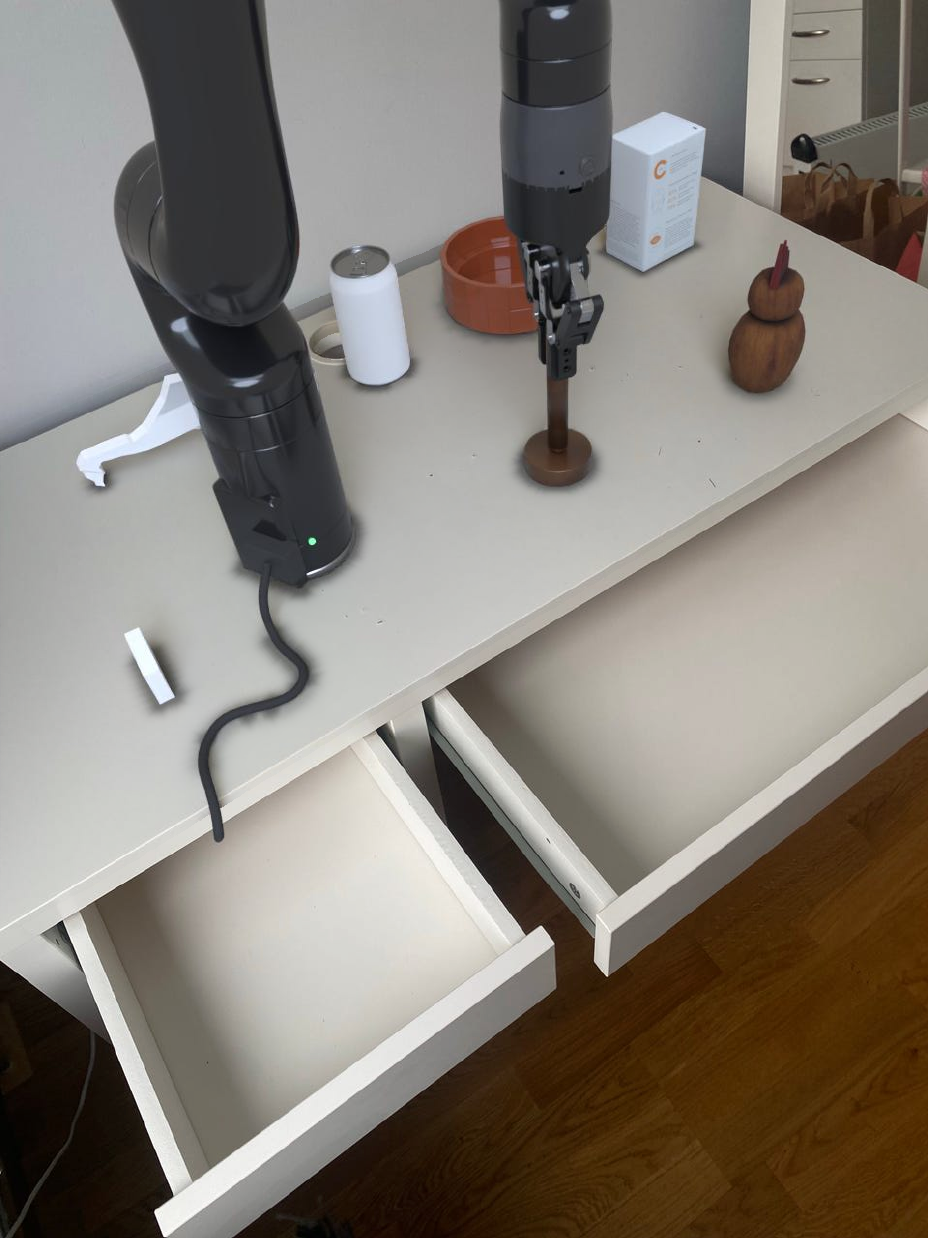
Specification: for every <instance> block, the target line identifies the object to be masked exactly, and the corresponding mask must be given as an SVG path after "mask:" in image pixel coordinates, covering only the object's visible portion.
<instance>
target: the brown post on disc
mask: <svg viewBox="0 0 928 1238" xmlns="http://www.w3.org/2000/svg"><path fill="white" fill-rule="evenodd" d="M560 320H561V317H560V318H559V319H558V326H559V323H560ZM545 367H546V368H545V369H546V370H545V371H546V416H547V417H546V418H547V420H546V422H547V423H546V424H547V427H546V429H543V430H541V431H538V432H536V433H535V434H533V435H532V436H531V437H530V438H528V440H527V442H526V444H525V446H524V448H523V451H524V452H523V454H524V455H523V456H524V469H525V471H526V473H527V475H528V476H529V477H530V478H531V479H532V480H533V481H535V482H536V483H538V484H540V485H544V486H548V487H556V488H557V487H566V486H572V485H574V484H577V483H578V482H580V481H582V480H583V479H584V478H586V477H587V475H588V474H589V472H590V471H591V469H592V462H593V461H592V460H593V459H592V457H593V447H592V443H591V442H590V440H589V438H587V437H586V435H584V434H583V433H581V432H580V431H578V430H575V429H572V428H569V378H567V379H563V380H559V381H553V380H552V379H551V378H550V376H549V374H548V339H547V321H546V365H545Z"/></svg>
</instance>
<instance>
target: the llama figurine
mask: <svg viewBox="0 0 928 1238" xmlns="http://www.w3.org/2000/svg"><path fill="white" fill-rule="evenodd" d="M192 430H201V427H200V424H199V421H198V419H197V416H196V413H195V411H194V408H193V405H192V403H191V400H190V398H189V395H188V393H187V390H186V387H185V385H184V383H183V381H182V379H181V377H180V375H179V374H178V372H175V373H171V374H167V375H164V377H163V381H162V386H161V389H160V393H159V396H158V397H157V399H156V400H155V402H154V404H153V406H152V407H151V409H150V411H149V413H148V414H147V415H146V417H145V419H144V421H143V423H142V424H140V425H139V426H138V427H136V428H135V429H133V430H132V431H131V432H130V433H123V434H120V435H117V436H115V437H113V438H109V439H108V440H105V441H102V442H100V443H98V444H95V445H93V446H90V447H88V448H85V449H83V450H81V451H80V453H79V454H78V457H77V459H76V462H75V464H76V466H77V468H78V469H79V472H80V473H81V472H82V473H83V474H84V477H86V479H88V480H90V481H92V482H93V483H94V484H95V486H96V487H106V484H105V483H104V476H105V474H106V471H105V469H104V467H103V466H102V463H103V462H107V461H111V460H114V459H117V458H119V457H124V456H131V455H135V454H139V453H142V452H143V453H144V452H146V451H150V450H152V449H155V448H156V447H160V446H161V445H163V444H166V443H167V442H170V441H172V440H174V439H176V438H178V437H180V436H182V435H183V434H186V433H188V432H190V431H192Z"/></svg>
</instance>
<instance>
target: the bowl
mask: <svg viewBox="0 0 928 1238" xmlns="http://www.w3.org/2000/svg"><path fill="white" fill-rule="evenodd" d="M439 259H440V260H439V261H440V269H441V277H442V278H441V279H442V288H443V296H444V303H445V308H446V311H447V312H448V313H449V314H450V316H451V318H453V319H454V320H455V321H456V322H458V323H459V324H461V325H463V326H464V327H466V328H468V329H471V330H474V331H477V332H478V331H479V332H483V333H486V334H495V335H496V334H497V335H498V334H499V335H514V334H522V333H529V332H533V331H536V330H538V322H536V320H535V318H534V316H533V303H529V302H528V300H527V298H526V291H525V285H524V280H523V274H522V269H521V263H520V257H519V252H518V246H517V241H516V237H515V236H514V235H513V234H512V233H511V232H510V231H509V230H508V228H507V227H506V224H505V221H504V215H498V216H490V217H486V218H483V219H480V220H476V221H474V222H471V223H468V224H467V225H464V226H462V227H461V228H458V229H457V230H456V231H453V233H452V234H451V235H450V236H449V237H448V238H446V240H445V241H444V242H443V245H442V246H441V250H440V252H439Z"/></svg>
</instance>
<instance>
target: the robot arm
mask: <svg viewBox="0 0 928 1238" xmlns="http://www.w3.org/2000/svg"><path fill="white" fill-rule="evenodd" d="M497 1H498V2H497V3H498V48H499V49H498V51H499V53H498V54H499V71H500V72H499V73H500V88H501V89H500V90H501V92H500V93H501V95H500V97H501V98H500V112H499V144H500V145H499V147H500V168H501V184H502V185H501V186H502V205H503V216H504V221H505V224H506V227H507V228H508V230H509V231H510V232H511V233H512V234H513V235H514V236H515V237H516V241H517V246H518V252H519V257H520V263H521V269H522V274H523V280H524V285H525V291H526V298H527V300H528V302H529V303H533V316H534V318H535V320H536V322H538V329H537V352H538V353H537V354H538V355H537V356H538V360H539V361H540V362H541V364H542V365H543V366H546V321H547V339H548V374H549V376H550V378H551V379H552V380H553V381H559V380H563V379H567V378H568V379H571V378H573V377H575V376H576V374H577V371H578V346H581V345H588V344H590V343H591V341H592V339H593V336H594V334H595V331H596V329H597V327H598V324H599V322H600V320H601V317H602V315H603V312H604V309H605V301H604V299H603V297H602V295H601V294H594V295H591V294H590V291H589V276H590V274H591V272H592V257H591V253H590V251H589V248H587V245H588V244H589V242H590V241H592V239H593V238H594V237H595V236H596V235H598V233H600V232H601V231H602V230H603V229H604V227H605V226H607V221H608V219H609V214H610V190H611V163H612V138H613V135H614V113H613V112H614V111H613V101H612V90H611V89H612V86H611V83H612V82H611V79H612V78H611V77H612V75H611V74H612V51H613V50H612V49H613V48H612V47H613V6H612V0H497ZM110 2H111V5H112V6H113V8H114V11H115V13H116V15H117V18H118V20H119V22H120V24H121V28H122V29H123V32H124V34H125V37H126V39H127V42H128V44H129V47H130V49H131V52H132V54H133V57H134V60H135V64H136V65H137V69H138V71H139V74H140V78H141V82H142V85H143V88H144V92H145V95H146V100H147V104H148V111H149V115H150V119H151V124H152V131H153V138H154V139H153V140H152V141H149V142H147V143H145V144H144V145H142V146H141V147H140V148H139V149H137V150H136V151H135V152H134V153H133V154H132V155H131V156H130V157H129V159H128V160H127V161H126V163H125V165H124V166H123V168H122V170H121V171H120V173H119V177H118V179H117V181H116V186H115V189H114V195H113V219H114V226H115V230H116V231H115V232H116V235H117V239H118V242H119V246H120V249H121V251H122V254H123V257H124V260H125V262H126V265H127V267H128V270H129V272H130V274H131V275H130V276H131V277H132V280H133V282H134V286H135V287H136V289H137V292H138V294H139V297H140V299H141V301H142V303H143V306H144V308H145V311H146V313H147V316H148V319H149V320H150V323H151V325H152V327H153V330H154V332H155V334H156V337H157V339H158V341H159V344H160V346H161V347H162V349H163V351H164V353H165V355H166V356H167V358H168V359H169V361H170V362H171V364H172V366H173V367H174V369H175V371H176V373H178V374H179V375H180V377H181V379H182V381H183V383H184V385H185V387H186V390H187V393H188V395H189V398H190V400H191V403H192V405H193V408H194V411H195V413H196V416H197V419H198V421H199V424H200V427H201V429H200V430H201V433H202V435H203V437H204V441H205V442H206V445H207V448H208V450H209V454H210V456H211V458H212V461H213V464H214V467H215V469H216V473H217V474H218V478H217V479H216V480H215V481H214V482H213V484H212V485H211V487H212V491H213V494H214V497H215V499H216V502H217V504H218V506H219V509H220V511H221V514H222V516H223V519H224V522H225V524H226V527H227V529H228V532H229V534H230V537H231V541H232V542H233V545H234V548H235V550H236V552H237V555H238V557H239V560H240V562H241V565H242V568H244V569H247V570H249V571H252V572H254V573H257V574H259V575H260V578H259V586H258V608H259V613H260V617H261V621H262V623H263V625H264V627H265V630H266V632H267V635H268V636H269V638H270V640H271V642H272V643H273V645H274V646H275V648H276V649H277V650H278V651H279V652H280V653H281V654H282V655H283V656H284V657H285V658H287V659H288V660H289V661H290V662H292V664H294V666H295V667H296V668H297V671H298V678H297V679H296V682H295V683H294V685H293V686H292V687H291V688H290V689H289V690H287V691H286V692H284V693H282V694H279V695H277V696H274V697H271V698H267V699H264V700H259V701H256V702H252V703H248V704H245V705H241V706H238V707H235V708H232V709H230V710H229V711H227V712H224V713H223V714H222V715H220V716H219V717H217V718H216V719H215V720H214V721H213V722H212V724H211V725H210V726H209V727H208V729H207V731H206V732H205V733H204V735H203V738H202V740H201V743H200V746H199V749H198V755H197V765H198V766H197V767H198V773H199V777H200V781H201V785H202V788H203V791H204V792H203V793H204V794H205V798H206V802H207V806H208V810H209V815H210V821H211V827H212V834H213V840H214V842H215V843H221V842H223V840H224V839H225V829H224V827H225V826H224V822H223V821H224V820H223V816H222V815H223V814H222V810H221V806H220V800H219V798H218V793H217V791H216V787H215V785H214V780H213V778H212V773H211V770H210V763H209V755H210V750H211V746H212V745H213V741H214V740H215V739H216V736H217V734H218V733H219V732H220V731H221V730H222V729H223V727H225V726H226V725H227V724H228V723H230V722H232V721H234V720H236V719H239V718H241V717H244V716H248V715H251V714H254V713H258V712H263V711H267V710H271V709H274V708H278V707H281V706H283V705H285V704H288V703H289V702H291V701H293V700H294V699H296V698H297V697H298V696H299V695H300V694H301V693H303V690H304V689H305V687H306V685H307V683H308V679H309V668H308V665H307V664H306V662H305V660H304V659H303V658H302V657H301V656H300V655H299V654H297V652H295V651H294V649H292V648H291V647H290V646H288V645H287V643H285V641H283V638H282V637H281V636H280V634H279V632H278V631H277V628H276V626H275V624H274V621H273V619H272V617H271V613H270V607H269V585H270V579H271V580H273V581H278V582H280V583H282V584H286V585H287V586H290V587H293V588H295V589H302V588H303V587H304V586H305V585H306V583H308V582H309V581H310V580H313V579H317V578H319V577H322V576H324V575H327V574H328V573H329V572H331V571H334V569H336V568H337V567H339V566H340V565H341V564H342V563H343V562H345V560H346V559H347V558H348V557H349V555H350V554H351V552H352V550H353V547H354V545H355V541H356V529H355V526H354V521H353V519H352V517H351V514H350V510H349V505H348V501H347V497H346V493H345V489H344V485H343V482H342V477H341V473H340V470H339V466H338V462H337V457H336V453H335V449H334V445H333V442H332V437H331V433H330V429H329V424H328V421H327V416H326V413H325V409H324V405H323V400H322V396H321V392H320V388H319V384H318V380H317V376H316V375H317V374H316V372H315V368H314V367H315V366H314V363H313V359H312V354H311V349H310V345H309V343H308V339H307V337H306V335H305V332H304V330H303V329H302V327H301V326H300V324H299V322H298V321H297V319H296V318H295V317H294V316H293V314H292V312H291V310H290V309H289V308H288V306H287V305H286V303H285V301H284V300H285V299H286V298H287V295H288V293H289V291H290V290H291V288H292V285H293V282H294V279H295V277H296V273H297V270H298V264H299V259H300V248H301V247H300V245H301V240H300V239H301V238H300V237H301V235H300V225H299V218H298V211H297V206H296V199H295V194H294V188H293V185H292V184H293V183H292V179H291V174H290V169H289V163H288V157H287V153H286V147H285V142H284V137H283V131H282V126H281V121H280V115H279V109H278V103H277V97H276V92H275V86H274V79H273V71H272V63H271V56H270V55H271V54H270V47H269V46H270V45H269V34H268V23H267V9H266V0H110ZM560 317H561V320H560V323H559V326H558V319H559V318H560Z"/></svg>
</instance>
